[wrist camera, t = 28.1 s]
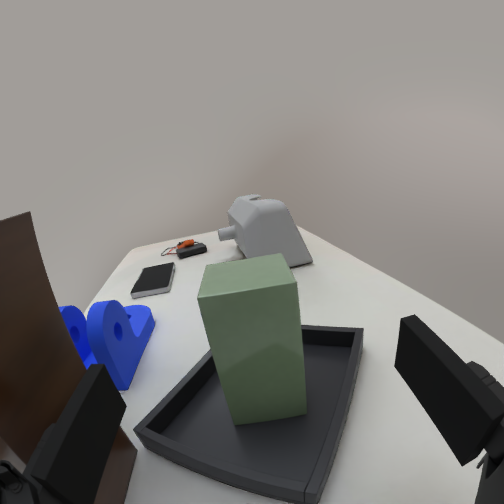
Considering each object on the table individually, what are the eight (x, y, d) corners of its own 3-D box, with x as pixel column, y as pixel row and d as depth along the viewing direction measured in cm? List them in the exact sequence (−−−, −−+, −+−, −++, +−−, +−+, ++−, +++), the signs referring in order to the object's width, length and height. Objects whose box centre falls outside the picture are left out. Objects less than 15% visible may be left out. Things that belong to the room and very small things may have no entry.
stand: (30, 505, 10) (-120, 280, 4) (60, 439, 18) (-39, 239, 13) (117, 536, 10) (-90, 257, 4) (137, 450, 18) (30, 210, 13)
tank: (218, 248, 75) (209, 201, 72) (277, 236, 78) (270, 190, 74) (232, 282, 52) (219, 214, 48) (314, 263, 54) (308, 198, 51)
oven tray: (144, 447, 19) (132, 429, 18) (241, 336, 35) (237, 318, 34) (316, 507, 12) (317, 494, 12) (362, 347, 28) (363, 327, 27)
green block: (233, 425, 20) (196, 297, 17) (233, 380, 26) (206, 265, 23) (307, 414, 20) (297, 281, 17) (294, 370, 26) (281, 252, 23)
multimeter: (160, 248, 87) (157, 237, 86) (197, 239, 90) (195, 229, 89) (162, 263, 70) (159, 250, 69) (207, 252, 74) (205, 239, 73)
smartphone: (129, 294, 50) (142, 268, 65) (130, 299, 51) (143, 273, 65) (168, 286, 52) (174, 261, 66) (170, 292, 52) (176, 266, 66)
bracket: (127, 390, 26) (95, 319, 24) (70, 388, 26) (36, 323, 23) (159, 313, 43) (144, 260, 41) (115, 319, 43) (98, 268, 41)
